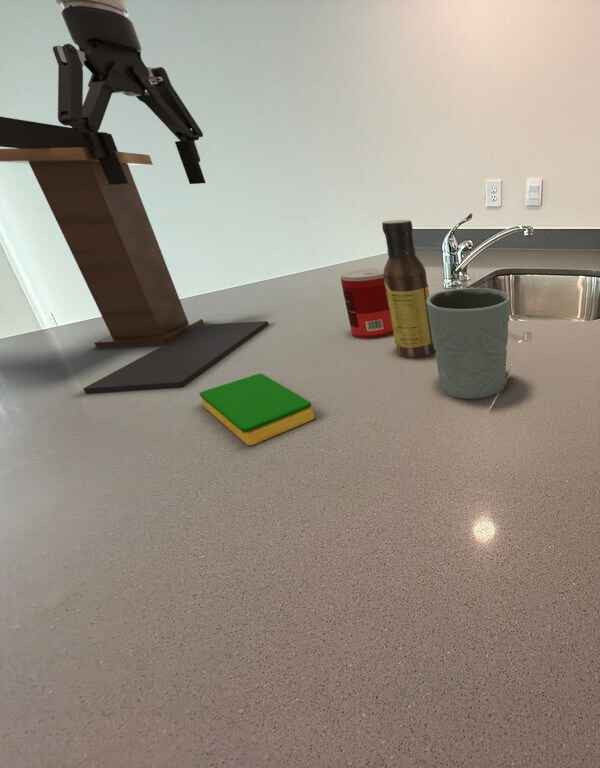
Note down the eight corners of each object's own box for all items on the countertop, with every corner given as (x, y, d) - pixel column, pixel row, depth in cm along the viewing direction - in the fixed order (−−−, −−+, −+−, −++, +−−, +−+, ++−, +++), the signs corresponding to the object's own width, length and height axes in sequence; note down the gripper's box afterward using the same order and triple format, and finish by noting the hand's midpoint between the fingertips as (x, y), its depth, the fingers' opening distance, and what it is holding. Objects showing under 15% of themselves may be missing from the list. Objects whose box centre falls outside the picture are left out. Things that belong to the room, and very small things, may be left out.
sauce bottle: (413, 344, 69) (396, 218, 60) (444, 349, 67) (430, 218, 58) (387, 357, 64) (365, 221, 55) (419, 363, 62) (400, 222, 53)
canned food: (405, 329, 77) (396, 269, 72) (376, 342, 70) (364, 278, 65) (373, 324, 80) (363, 267, 75) (343, 337, 73) (329, 275, 68)
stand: (166, 348, 70) (81, 147, 57) (89, 353, 69) (-15, 148, 55) (210, 324, 82) (149, 154, 69) (146, 327, 81) (72, 156, 68)
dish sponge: (250, 449, 42) (242, 429, 41) (204, 409, 50) (197, 391, 49) (316, 420, 47) (311, 402, 46) (266, 388, 55) (260, 372, 54)
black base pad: (184, 389, 55) (180, 381, 54) (87, 396, 54) (82, 388, 53) (269, 326, 80) (267, 320, 79) (204, 330, 79) (202, 324, 78)
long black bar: (-36, 139, 46) (-53, 108, 45) (-76, 139, 46) (-94, 108, 45) (119, 154, 68) (111, 133, 67) (93, 155, 68) (84, 134, 66)
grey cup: (470, 365, 60) (464, 284, 55) (527, 381, 55) (527, 293, 50) (419, 391, 53) (407, 300, 48) (479, 412, 48) (473, 312, 42)
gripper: (-1, -31, 45) (95, 182, 55) (196, 37, 67) (241, 182, 76) (-46, -20, 47) (54, 185, 56) (160, 43, 68) (208, 184, 78)
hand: (161, 184), depth 66 cm, fingers open, 12 cm apart
